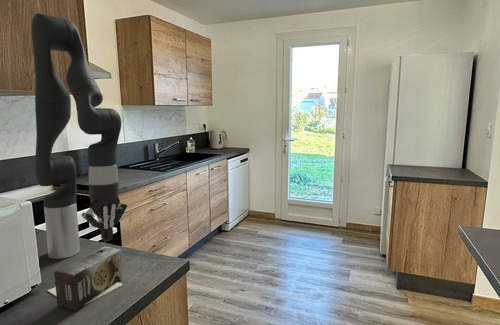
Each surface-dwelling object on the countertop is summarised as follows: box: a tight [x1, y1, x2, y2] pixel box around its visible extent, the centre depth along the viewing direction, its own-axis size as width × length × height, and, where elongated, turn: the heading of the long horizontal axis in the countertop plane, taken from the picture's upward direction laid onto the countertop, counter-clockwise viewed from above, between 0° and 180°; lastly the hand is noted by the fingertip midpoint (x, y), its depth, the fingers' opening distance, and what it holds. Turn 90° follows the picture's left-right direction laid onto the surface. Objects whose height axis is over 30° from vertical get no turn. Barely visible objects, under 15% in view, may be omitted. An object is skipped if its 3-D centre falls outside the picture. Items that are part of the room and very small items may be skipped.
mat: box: [47, 281, 124, 307], centre depth 85 cm, size 14×13×1 cm
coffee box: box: [53, 245, 124, 311], centre depth 82 cm, size 9×6×16 cm
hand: (107, 239), depth 89 cm, fingers closed
